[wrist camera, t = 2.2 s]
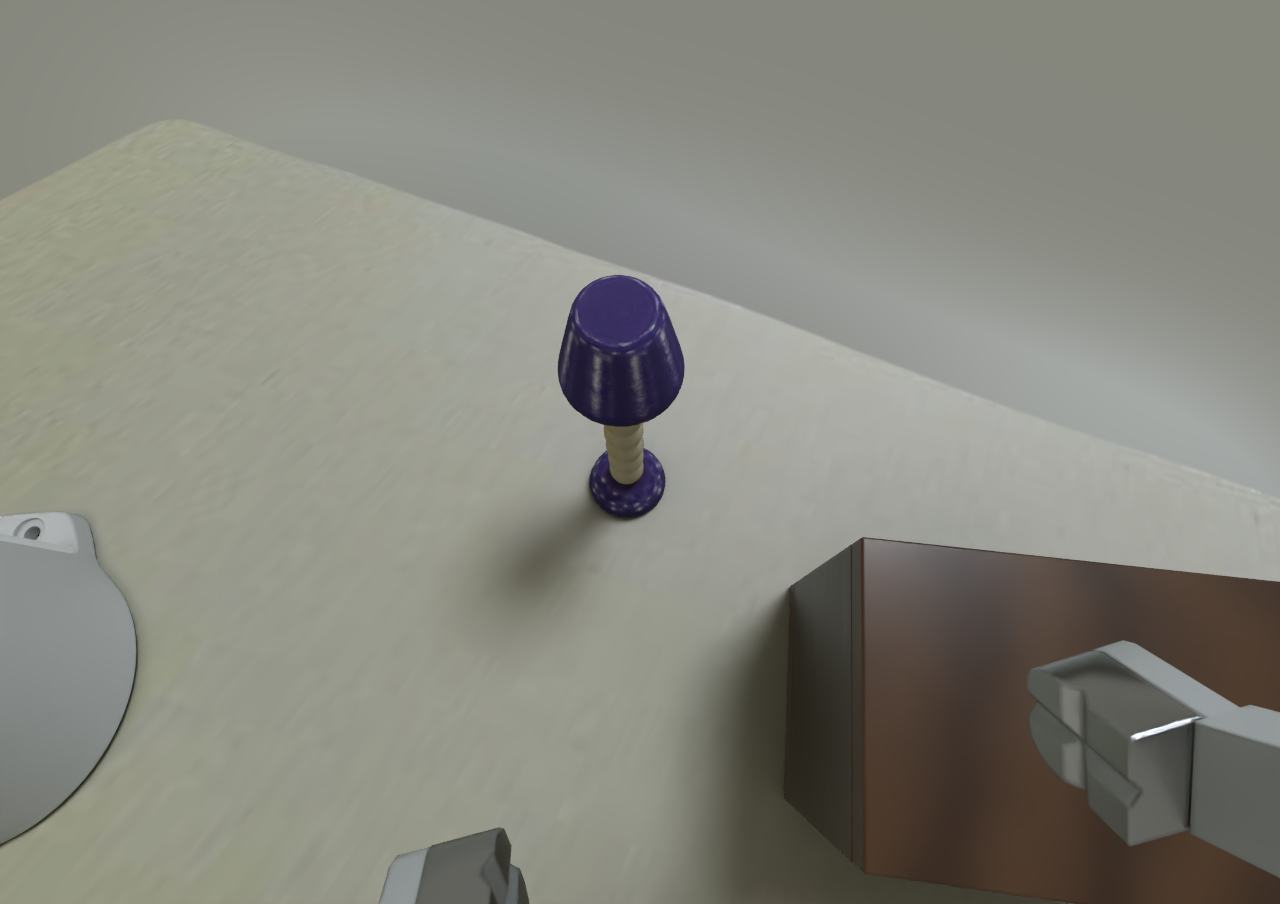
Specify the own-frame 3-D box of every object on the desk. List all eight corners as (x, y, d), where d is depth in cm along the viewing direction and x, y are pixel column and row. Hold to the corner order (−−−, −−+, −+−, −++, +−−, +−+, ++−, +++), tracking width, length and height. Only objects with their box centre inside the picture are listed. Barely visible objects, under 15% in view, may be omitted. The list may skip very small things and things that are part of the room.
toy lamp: (604, 430, 36) (565, 237, 20) (682, 449, 35) (704, 265, 20) (581, 508, 34) (518, 363, 18) (662, 528, 34) (668, 398, 18)
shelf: (783, 798, 29) (864, 874, 18) (790, 585, 32) (861, 536, 21) (1113, 843, 28) (1420, 953, 17) (1084, 618, 31) (1324, 585, 20)
